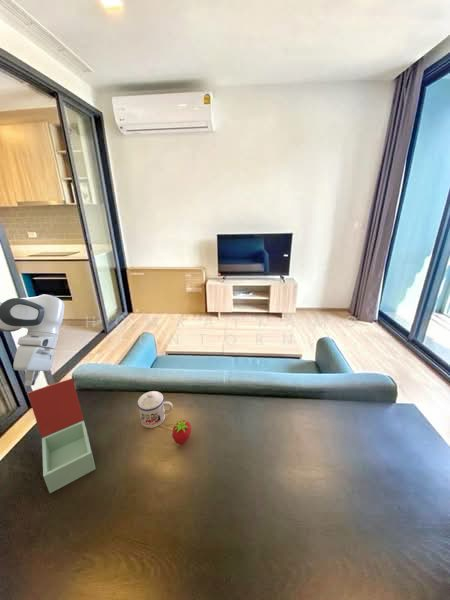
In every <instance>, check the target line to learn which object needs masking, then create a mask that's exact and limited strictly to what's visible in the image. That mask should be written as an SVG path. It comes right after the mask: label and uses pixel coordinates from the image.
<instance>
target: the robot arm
mask: <svg viewBox="0 0 450 600" xmlns="http://www.w3.org/2000/svg"><path fill="white" fill-rule="evenodd" d="M64 314H65V302H64V300H62V299H60V297H57V296H54V295H51V294H48V293H47V294H44V293H43V294H40V295H38V296H31V297H12V298H9V299H6V300H5V301H2V300H1V301H0V331H1V332H6V333H11V332H16V331H19V330H21V329H27V332H26V334H25V335H23V336H20V337H19V338H18V340H17V345H18V347H17V349H16V352H15V356H14V359H13V364H12V366H13V370H14V371H25V373H24V374H25V375H24V378H25V380H24V386H26V387H30V386H35V385H36V382H37V380H38V378H39V376H40V373H41V372H50V371H51V368H52V365H53V362H54V361H53V360H54V355H55V352H54V350H55V349H57V348H56V347H57V343H58V340H59V336H60V327H61V326H62V323H63V320H64Z"/></svg>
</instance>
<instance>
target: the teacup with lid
mask: <svg viewBox="0 0 450 600" xmlns="http://www.w3.org/2000/svg"><path fill="white" fill-rule="evenodd" d="M164 400H165V398H164V395H163V394H162V393H161V392H160V391H156V390H152V391H148V392H145V393H143V394H142V395H141V396H140V397H139V398H138V399H137V407H138V410H139V411H138V412H139V417H140V423H141V425H142V426H143V427H145V428H147V429H153V428H154V429H155V428H156V427H159V426H160V425H162V424H163V423H164V421H165V419H166V415H167V414H170V413H171V412H172V411H173V403H172V402H171V401H164ZM165 405H166V406H169V407H170V408H169V409H167V410H165Z"/></svg>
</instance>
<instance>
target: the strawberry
mask: <svg viewBox="0 0 450 600" xmlns="http://www.w3.org/2000/svg"><path fill="white" fill-rule="evenodd" d="M191 434H192V426H191V423H190V421H188V420H186V419H181V420H179V421H176V424H174V425H173V428H172V439H173V440H174V442H175V443H176V444H177V445H179V446H183V445H184V444H186V443H187V441H189V440H190V437H191Z"/></svg>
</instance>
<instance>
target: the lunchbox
mask: <svg viewBox="0 0 450 600" xmlns="http://www.w3.org/2000/svg"><path fill="white" fill-rule="evenodd" d="M41 446H42V447H41V448H42V449H41V452H42V454H41V455H42V477H43V480H44V482H45V485H46V487H47V490H48V493H49V494H52V493H53V492H55V491H57V490H59V489H61V488H63V487H65V486H67V485H68V484H71V483H72V482H75V481H77V480H78V479H80V478H83V476H86V475H87V474H89V473H91V472H93V471H95V470H96V464H95V460H94V455H93V451H92V447H91V443H90V438H89V434H88V430H87V427H86V423H85V421H84V420H82V421H80V422H77V423H75V424H73V425H70V426H68V427H66V428H63V429H61V430H59V431H56V432H54V433H51V434H49V435H47V436H44V437H41Z"/></svg>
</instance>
